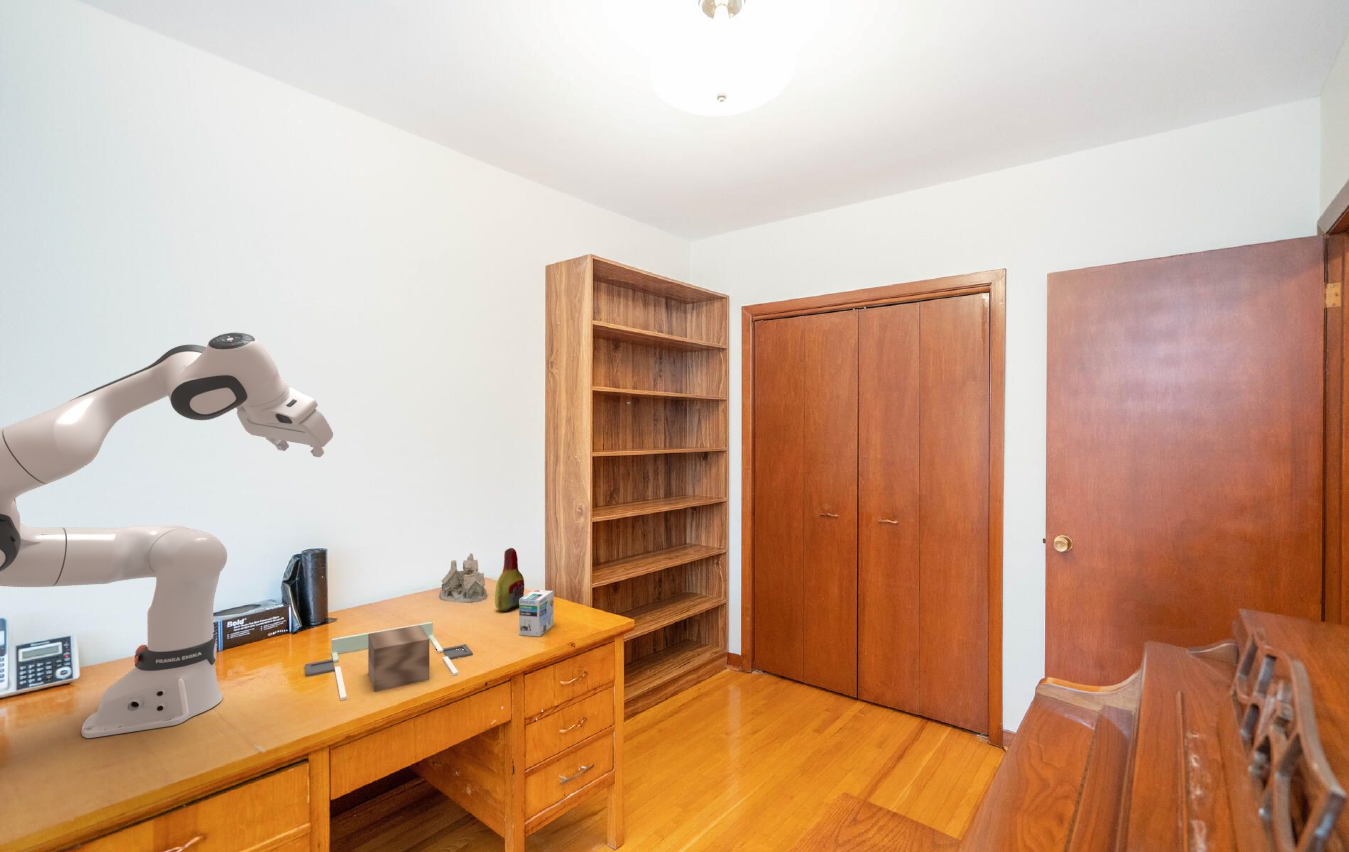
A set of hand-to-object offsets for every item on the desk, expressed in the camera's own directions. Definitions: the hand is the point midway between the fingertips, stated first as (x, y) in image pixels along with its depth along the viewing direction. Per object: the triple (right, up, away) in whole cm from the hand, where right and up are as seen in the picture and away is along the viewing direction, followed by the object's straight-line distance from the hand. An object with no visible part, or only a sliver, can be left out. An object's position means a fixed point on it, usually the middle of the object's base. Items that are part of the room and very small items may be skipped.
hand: (301, 451), depth 132 cm
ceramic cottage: (+7, -56, +80) cm, 98 cm away
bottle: (+28, -56, +67) cm, 92 cm away
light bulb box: (+41, -56, +46) cm, 83 cm away
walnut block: (+15, -56, +14) cm, 59 cm away
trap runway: (+10, -56, +21) cm, 60 cm away
